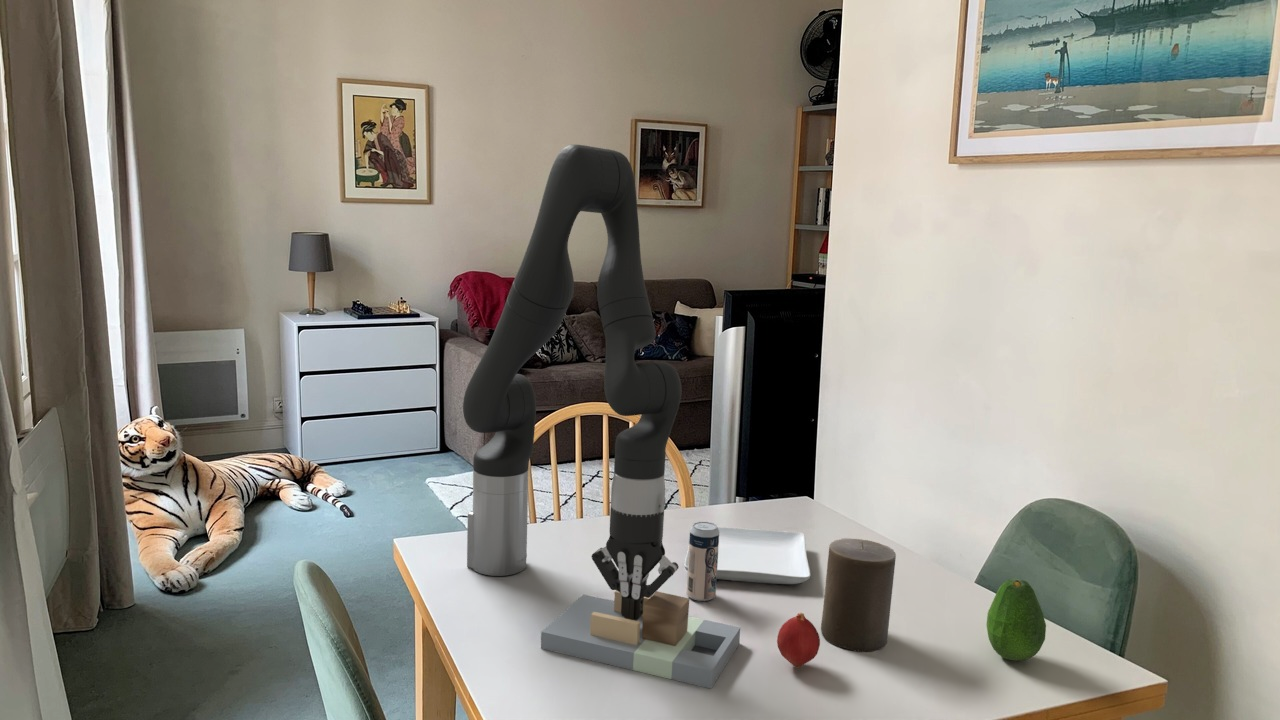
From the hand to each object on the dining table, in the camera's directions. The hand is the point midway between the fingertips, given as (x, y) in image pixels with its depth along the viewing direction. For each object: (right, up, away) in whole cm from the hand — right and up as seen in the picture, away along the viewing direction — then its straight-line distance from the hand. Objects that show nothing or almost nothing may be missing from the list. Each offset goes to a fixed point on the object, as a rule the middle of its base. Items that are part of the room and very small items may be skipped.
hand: (631, 619), depth 131 cm
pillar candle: (+33, -4, +6) cm, 34 cm away
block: (+5, -2, -2) cm, 5 cm away
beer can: (+11, -1, +18) cm, 21 cm away
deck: (+2, -4, 0) cm, 4 cm away
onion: (+23, -6, -4) cm, 24 cm away
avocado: (+55, -6, +1) cm, 55 cm away
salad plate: (+20, 0, +32) cm, 38 cm away
